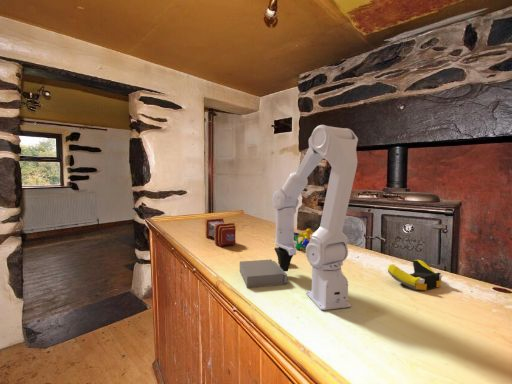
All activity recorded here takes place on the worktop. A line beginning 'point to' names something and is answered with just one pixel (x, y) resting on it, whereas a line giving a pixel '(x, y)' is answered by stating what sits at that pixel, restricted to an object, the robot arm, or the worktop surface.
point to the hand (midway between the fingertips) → (284, 270)
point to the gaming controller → (417, 276)
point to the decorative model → (305, 239)
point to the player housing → (261, 273)
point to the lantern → (220, 231)
